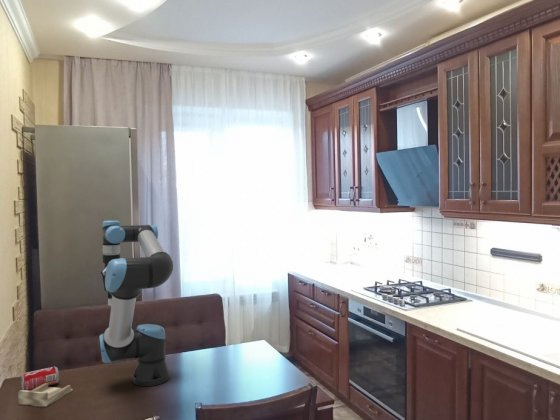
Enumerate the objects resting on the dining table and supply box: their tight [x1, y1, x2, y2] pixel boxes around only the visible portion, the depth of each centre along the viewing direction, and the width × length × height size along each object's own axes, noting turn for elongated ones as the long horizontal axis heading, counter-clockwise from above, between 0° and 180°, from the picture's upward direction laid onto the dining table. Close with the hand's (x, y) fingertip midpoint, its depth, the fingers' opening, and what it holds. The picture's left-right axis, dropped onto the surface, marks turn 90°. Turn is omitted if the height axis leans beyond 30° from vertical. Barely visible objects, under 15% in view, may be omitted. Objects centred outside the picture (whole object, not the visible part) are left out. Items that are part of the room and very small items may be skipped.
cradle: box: [17, 383, 74, 408], centre depth 170 cm, size 12×15×5 cm
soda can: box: [20, 366, 60, 391], centre depth 179 cm, size 7×7×13 cm
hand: (111, 305), depth 199 cm, fingers closed
